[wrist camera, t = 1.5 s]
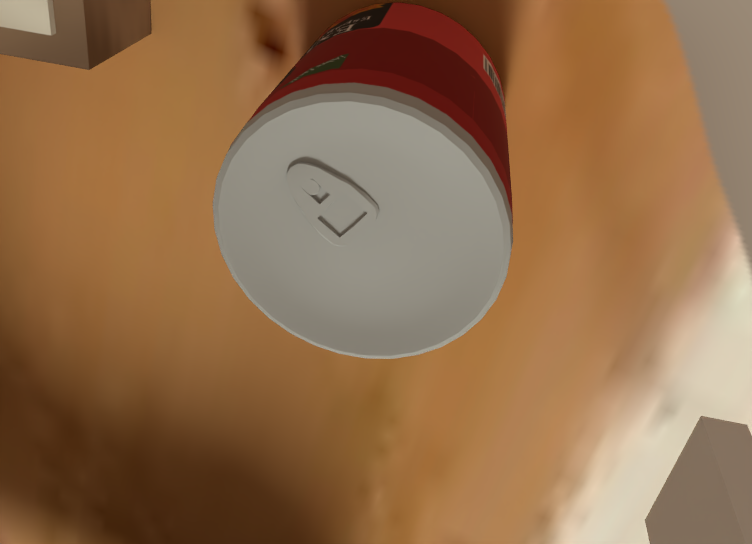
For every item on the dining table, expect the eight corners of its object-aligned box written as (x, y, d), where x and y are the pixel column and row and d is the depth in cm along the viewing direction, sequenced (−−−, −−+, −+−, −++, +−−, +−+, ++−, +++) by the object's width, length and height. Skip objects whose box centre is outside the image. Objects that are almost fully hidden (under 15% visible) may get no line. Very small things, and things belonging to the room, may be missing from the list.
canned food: (358, -46, 25) (279, 26, 15) (548, 71, 26) (582, 203, 17) (271, 132, 29) (167, 274, 19) (440, 226, 30) (418, 403, 21)
